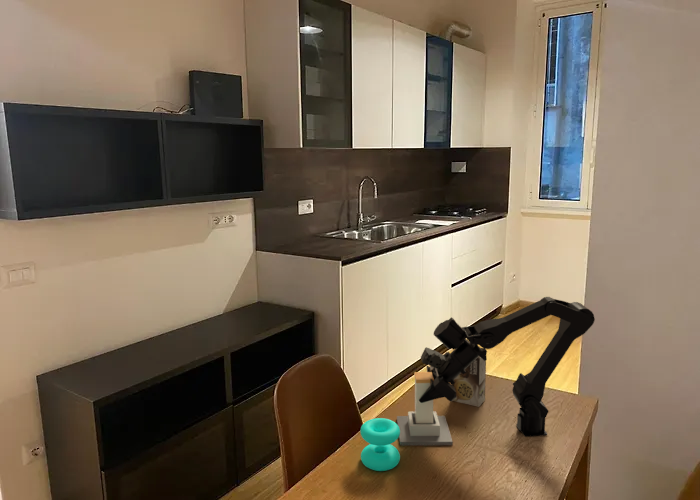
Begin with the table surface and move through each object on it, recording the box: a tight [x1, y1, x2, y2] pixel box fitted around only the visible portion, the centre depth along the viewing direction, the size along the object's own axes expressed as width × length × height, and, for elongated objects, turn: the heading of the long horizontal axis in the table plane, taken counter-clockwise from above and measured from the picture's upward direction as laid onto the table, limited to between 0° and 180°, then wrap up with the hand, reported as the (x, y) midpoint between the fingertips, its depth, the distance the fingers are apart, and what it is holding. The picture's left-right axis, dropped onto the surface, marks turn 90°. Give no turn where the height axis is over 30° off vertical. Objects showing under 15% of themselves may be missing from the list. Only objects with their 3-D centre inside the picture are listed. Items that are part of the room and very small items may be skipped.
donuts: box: [359, 417, 401, 472], centre depth 138 cm, size 10×10×10 cm
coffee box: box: [451, 356, 487, 408], centre depth 169 cm, size 9×6×16 cm
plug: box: [413, 371, 434, 423], centre depth 151 cm, size 5×5×13 cm
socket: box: [396, 410, 454, 446], centre depth 152 cm, size 14×14×4 cm
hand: (419, 397), depth 151 cm, fingers closed on plug, 5 cm apart
